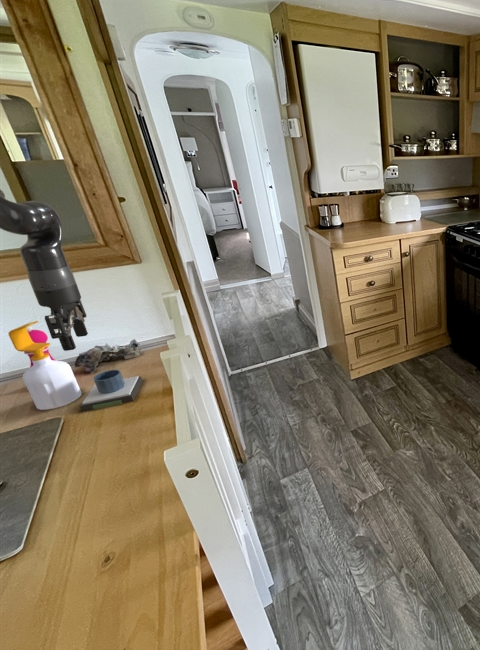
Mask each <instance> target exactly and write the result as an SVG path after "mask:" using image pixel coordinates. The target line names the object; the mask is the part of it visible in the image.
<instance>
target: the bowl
mask: <svg viewBox="0 0 480 650" xmlns="http://www.w3.org/2000/svg"><path fill="white" fill-rule="evenodd" d="M92 379H93V382H94V385H96V387H97V390H98V392H99V393H101V394H109V393H113V392H116V391H118V390H120V389H122V388H123V387H124V384H125V382H124V380H123V379H124V377H123V375H122V371H121V370H120V369H110V370H105V371H102V372H100V373H98V374H96V375H95V376H94V377H93V378H92Z"/></svg>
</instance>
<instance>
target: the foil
mask: <svg viewBox="0 0 480 650" xmlns="http://www.w3.org/2000/svg"><path fill="white" fill-rule="evenodd" d="M140 345H141V344H140V342H138V341H137V340H136V339H135V338H133V339H132V340H131V341H130V343H129V344H128V345H125V346H124V345H119V344H118V345H117V344H114V345H113V346H110V345H109V344H108V343H107V342H106V343H105V345H95V346H94V347H93V348H89V349H88V350H87V351H83V352H81V353H80V352H79V354H78V355H77V356H76V358H75V361H74V363H73V364H74V368H84V369H85V372H90V374H94V373H96V368H97V366H98V365H99V362H101V361H103V362H104V361H105V362H108V361H109V360H112V359H115V358H117V357H118V355H120V354H123V356H124V360H128V359H134V358H137V357H140V356H141V347H140Z"/></svg>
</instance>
